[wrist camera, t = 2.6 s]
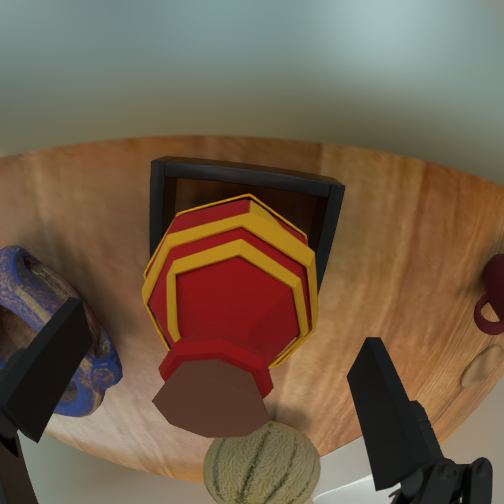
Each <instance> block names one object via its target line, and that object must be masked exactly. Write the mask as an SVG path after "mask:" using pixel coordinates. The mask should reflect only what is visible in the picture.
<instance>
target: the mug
mask: <svg viewBox="0 0 504 504" xmlns="http://www.w3.org/2000/svg"><path fill="white" fill-rule="evenodd" d="M483 281H484V286H485V290H486V294H484V295H483V296H482V297H481V298H480V299H479V301H478V302H477V304H476V306H475V309H474V321H475V323H476V325H477V327H478V328H479V329H480V330H481V331H482V332H484V333H486V334H489V335H498V334H501V333H502V332H504V254H497V255H495V256H494V257H492V258H491V260H490V261H489V262H488V264H487V266H486V268H485V270H484V274H483ZM487 302H489V303H490V305H491V306H492V308H493V310H494V311H495V313H496V315H497V316H498V318H499V320H500V321H499V322H490V321H488V320H486V319H485V318H484V317H483V316H482V315H481V309H482V308H483V306H484V305H485V304H486V303H487Z"/></svg>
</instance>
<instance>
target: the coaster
mask: <svg viewBox="0 0 504 504" xmlns="http://www.w3.org/2000/svg"><path fill="white" fill-rule="evenodd" d="M502 352H503V350H502V348H501V346H500V345H493V346H490V347H489V348H487V349H485V350H484V351H483V352H481V353H480V354H479V355H478V356H477V357H476V358H475V359H474V360H473V361H472V362H471V363H470V364H469V365H468V367H467V368H466V369H465V371H464V372H463V374H462V376H461V380H460V382H461V385H462V386H463V387H470V386H473V385H475V384H477V383H478V382H480V381H481V380H483V379H484V378H485V377H486V376H487V375H488V374H489V373H490V372H491V371H492V370H493V369H494V368H495V366H496V365H497V364H498V362H499V360H500V358H501V356H502Z"/></svg>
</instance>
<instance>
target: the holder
mask: <svg viewBox="0 0 504 504" xmlns="http://www.w3.org/2000/svg"><path fill="white" fill-rule="evenodd" d="M176 177H177V178H188V179H199V180H208V181H218V182H226V183H235V184H243V185H251V186H258V187H265V188H272V189H279V190H285V191H292V192H298V193H304V194H310V195H316V196H318V198H317V203H316V208H315V213H314V217H313V222H312V227H311V231H310V236H309V240H308V247H309V248H310V249H311V250H312V251H314V252H315V265H316V279H317V296H318V293H319V290H320V287H321V283H322V280H323V276H324V272H325V269H326V265H327V262H328V258H329V254H330V250H331V246H332V242H333V238H334V234H335V230H336V226H337V222H338V218H339V214H340V209H341V205H342V200H343V196H344V191H345V185H343V184H342V183H340V182H339V181H337V180H336V179H334V178H331V177H326V176H321V175H316V174H310V173H304V172H299V171H293V170H287V169H280V168H274V167H267V166H260V165H252V164H245V163H236V162H228V161H218V160H208V159H197V158H185V157H170V156H165V157H162V158H159V159H156V160H153V161H151V178H150V260H151V258H152V257H153V255H154V253H155V251H156V249H157V247H158V246H159V244H160V242H161V240H162V239H163V237H164V235H165V233H166V232H167V230H168V228H169V226H170V225H171V223H172V221H173V219H174V214H175V193H176ZM153 314H154V312H153ZM154 316H155V314H154ZM155 318H156V317H155ZM300 333H301V332H300ZM300 333H299V334H298V335H297V336H296V337H298V336H299V335H300Z"/></svg>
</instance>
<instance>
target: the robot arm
mask: <svg viewBox="0 0 504 504" xmlns="http://www.w3.org/2000/svg"><path fill="white" fill-rule="evenodd" d="M92 344H93V339H92V336H91V332H90V329H89V325H88V321H87V317H86V313H85V309H84V305H83V301H82V299H78V298H74V297H69V298H68V299H67V300H66V301H65V303H64V304H63V305H62V306H61V307H60V308H59V309H58V310H57V312H56V313H55V314H54V315H53V316H52V317H51V319H50V320H49V321H48V322H47V323H46V325H45V326H44V327H43V328H42V329H41V331H40V332H39V333H38V334H37V336H36V337H35V338H34V339H33V341H32V342H31V343H30V344H29V346H28V347H27V348H26V349H25V348H23V347H22V348H20V349H19V350H17V351H16V352H14V353H13V354H12V356H11V357H10V358H9V360H8V361H7V363H6V364H5V365H4V366H3V369H1V370H0V504H38V501H37V498H36V496H35V493H34V490H33V487H32V484H31V481H30V478H29V475H28V471H27V468H26V465H25V461H24V457H23V453H22V449H21V445H20V440H19V436H18V434H17V430H18V429H19V430H20V431H21V432H22V433H23V434H24V435H25V436H26V437H28V438H29V439H31V440H33V441H35V442H36V443H38V442H39V440H40V438H41V436H42V434H43V432H44V430H45V428H46V426H47V424H48V422H49V420H50V418H51V416H52V414H53V412H54V410H55V408H56V406H57V404H58V402H59V401H60V399H61V397H62V395H63V393H64V391H65V390H66V388H67V386H68V384H69V383H70V381H71V379H72V377H73V376H74V374H75V372H76V370H77V369H78V367H79V365H80V364H81V362H82V360H83V359H84V357H85V355H86V354H87V352H88V350H89V349H90V347H91V346H92ZM347 380H348V383H349V386H350V390H351V393H352V397H353V401H354V404H355V408H356V411H357V415H358V419H359V423H360V427H361V430H362V434H363V438H364V442H365V446H366V450H367V455H368V459H369V463H370V467H371V472H372V476H373V481H374V486H375V490H376V491H380V490H385V489H388V488H392V487H394V486H395V485H397V484H398V483H400V485H401V487H400V488H399V489H397V490H395V491H394V492H392V493H391V494H390V495H389V496H388V497H389V498H390V497H392V496H394V495H395V497H394V498H393V500H392V502H391V504H491V499H492V477H493V476H492V475H493V474H492V472H493V470H492V465H491V463H490V461H489V460H488V459H487V458H484V457H481V458H478V459H477V460H475V461H474V462H473V463H471V464H455V462H454V461H452V460H451V459H447V458H445V457H444V456H443V454H442V451H441V449H440V446H439V443H438V441H437V438H436V436H435V433H434V431H433V428H431V424H430V421H429V420H428V416H427V414H426V412H425V409H424V408H423V407H422V406H421V405H420V403H419V402H418V401H417V400H415V401H409V399H408V396H407V394H406V392H405V389H404V387H403V385H402V383H401V380H400V378H399V376H398V374H397V372H396V369H395V367H394V365H393V363H392V361H391V359H390V356H389V354H388V352H387V350H386V348H385V346H384V344H383V342H382V340H381V338H380V337H366V339H365V341H364V343H363V346H362V348H361V350H360V352H359V354H358V356H357V358H356V360H355V362H354V364H353V365H352V367H351V369H350V371H349V373H348V375H347ZM461 497H462V503H460V498H461Z"/></svg>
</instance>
